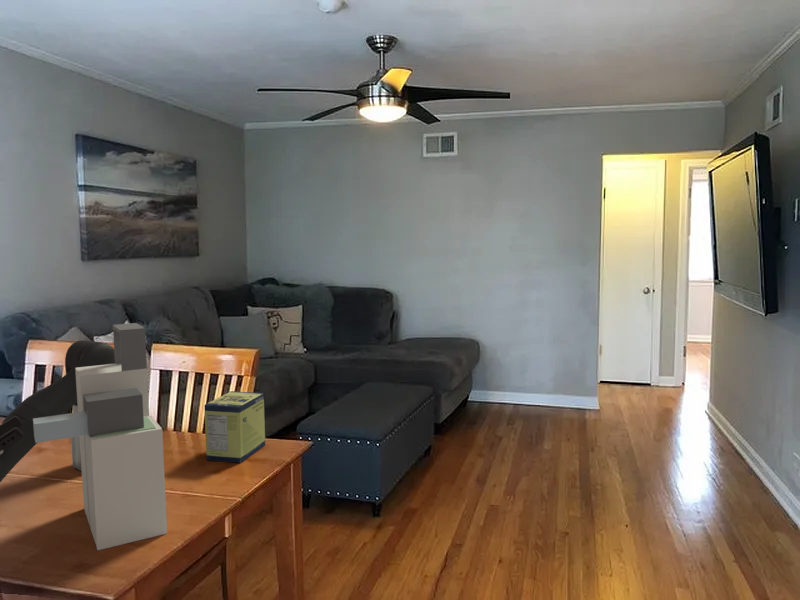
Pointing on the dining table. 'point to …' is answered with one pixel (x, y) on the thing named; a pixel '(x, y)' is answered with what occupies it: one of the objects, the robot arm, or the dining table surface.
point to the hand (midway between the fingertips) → (19, 425)
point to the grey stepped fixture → (123, 453)
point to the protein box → (234, 426)
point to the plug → (94, 416)
